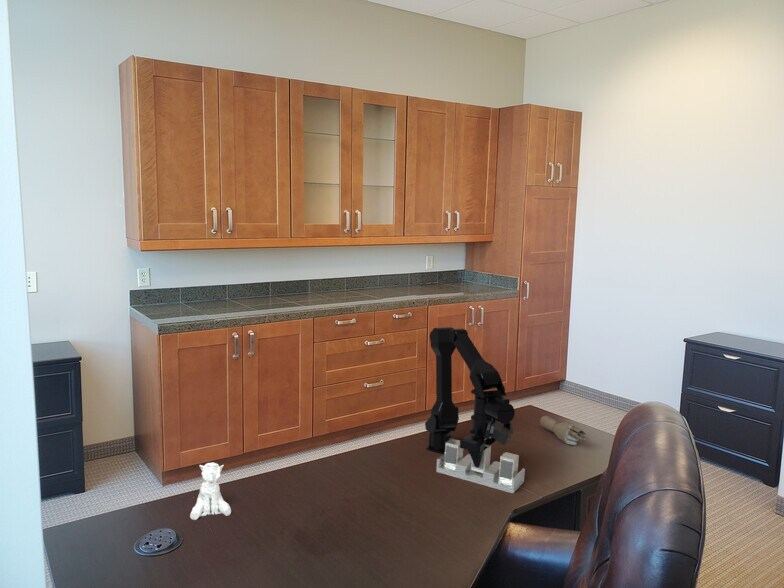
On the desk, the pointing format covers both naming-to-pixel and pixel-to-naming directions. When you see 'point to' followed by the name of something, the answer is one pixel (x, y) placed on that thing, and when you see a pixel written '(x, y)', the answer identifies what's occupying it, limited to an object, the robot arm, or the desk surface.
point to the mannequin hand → (563, 430)
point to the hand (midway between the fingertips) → (480, 464)
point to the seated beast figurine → (210, 493)
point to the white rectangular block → (483, 460)
